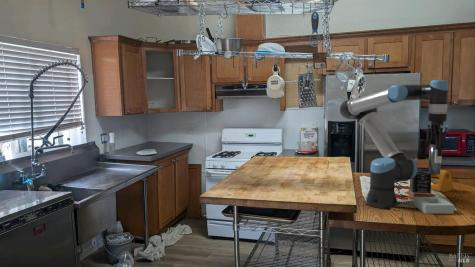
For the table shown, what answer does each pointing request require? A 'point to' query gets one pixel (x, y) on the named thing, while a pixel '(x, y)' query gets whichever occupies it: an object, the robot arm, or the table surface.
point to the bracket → (443, 182)
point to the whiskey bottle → (421, 174)
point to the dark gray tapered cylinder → (433, 161)
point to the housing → (433, 205)
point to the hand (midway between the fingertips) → (435, 161)
